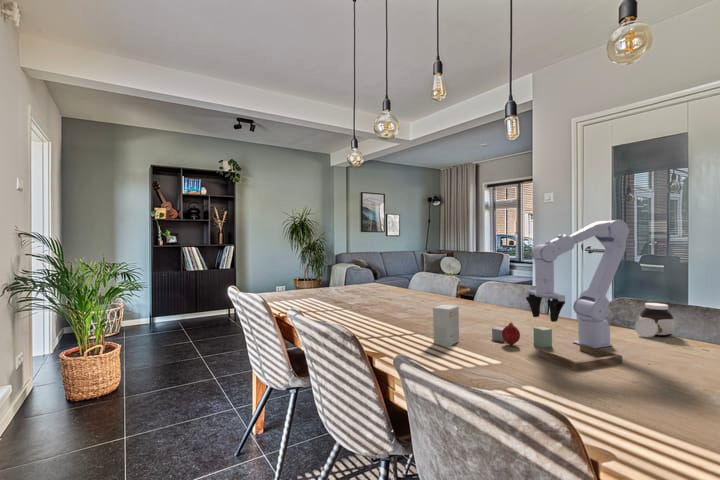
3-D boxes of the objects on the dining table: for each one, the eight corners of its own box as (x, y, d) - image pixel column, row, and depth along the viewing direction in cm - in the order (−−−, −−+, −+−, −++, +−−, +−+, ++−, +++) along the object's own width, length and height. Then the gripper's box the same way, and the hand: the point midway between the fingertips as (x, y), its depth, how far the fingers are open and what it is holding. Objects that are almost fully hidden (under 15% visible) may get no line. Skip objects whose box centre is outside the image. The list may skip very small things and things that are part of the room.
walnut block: (582, 349, 121) (582, 343, 121) (622, 362, 108) (622, 355, 108) (538, 356, 115) (538, 349, 115) (575, 370, 103) (575, 363, 103)
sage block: (542, 343, 129) (542, 326, 129) (552, 346, 125) (551, 329, 125) (533, 344, 128) (533, 327, 128) (542, 347, 124) (542, 330, 124)
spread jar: (672, 334, 138) (671, 303, 138) (678, 341, 129) (677, 308, 129) (632, 330, 145) (632, 301, 145) (635, 337, 135) (635, 305, 135)
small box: (443, 338, 136) (443, 303, 136) (459, 341, 132) (459, 305, 132) (432, 343, 130) (432, 307, 130) (449, 346, 126) (448, 309, 126)
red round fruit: (521, 348, 124) (521, 324, 124) (503, 347, 125) (503, 324, 125) (518, 343, 129) (517, 320, 129) (500, 342, 130) (500, 320, 130)
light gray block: (498, 337, 138) (498, 326, 138) (508, 339, 135) (507, 328, 135) (492, 339, 136) (492, 328, 136) (502, 341, 132) (502, 330, 132)
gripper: (519, 277, 131) (519, 315, 131) (553, 282, 117) (553, 324, 117) (534, 277, 133) (535, 314, 133) (569, 281, 119) (570, 322, 119)
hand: (544, 319), depth 125 cm, fingers open, 7 cm apart
